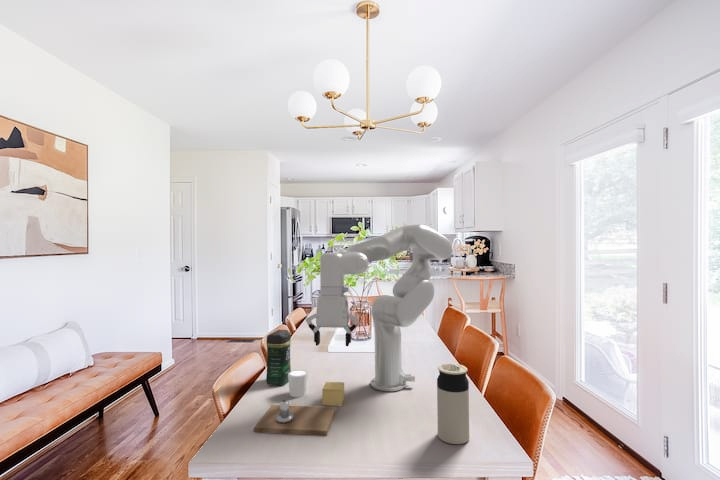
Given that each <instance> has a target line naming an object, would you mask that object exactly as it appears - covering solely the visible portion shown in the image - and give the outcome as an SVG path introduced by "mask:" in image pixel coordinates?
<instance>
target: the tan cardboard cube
mask: <svg viewBox="0 0 720 480" xmlns="http://www.w3.org/2000/svg"><path fill="white" fill-rule="evenodd" d="M321 389H322V392H321V393H322V397H321V398H322V399H321V400H322V401H321V402H322V404H321V405H322V406H335V407H336V406H341V407H342V405H343V403H344V400H345V382H341V381H339V382H338V381H326V382H325V384H323V387H322V388H321Z"/></svg>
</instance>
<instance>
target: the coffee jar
mask: <svg viewBox="0 0 720 480" xmlns="http://www.w3.org/2000/svg"><path fill="white" fill-rule="evenodd" d="M291 340H292V339H291V332H290V331H289V330H288V329H277V330H274V331H273V332H271V333H270V334H268V335H267V336H266V381H265V382H266V384H267V385H270V386H273V387H277V386H283V385H286V384H287V383H289V380H288V373H289V372H291V371H292V369H291V367H292V366H291V344H292V343H291Z"/></svg>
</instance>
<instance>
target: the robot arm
mask: <svg viewBox="0 0 720 480" xmlns="http://www.w3.org/2000/svg"><path fill="white" fill-rule="evenodd" d="M409 249H411V250H412V251H411V253H412V263H411V265H410V267H409V268H408V269H407V270H406V271H405V273H403V274H402V276H400V277H399V279H398V280H396V282H395V283H394V285H393V288H392V295H393V296H392V295H385V294H384V295H380V296H377V297H376V298H375V299H374V301H373V302H372V305H371V317H372V323H373V329H374V332H373V333H374V377H373V378H372V379H371V380H370V386H371V387H372V388H373V389H375V390H378V391H382V392H397V391H401V390H404V389H405V388H406V387H407V382H412V383H413V382H416V377H415V375H412V373H407V374H406V373H404V370H403V368H402V366H403V363H402V358H403V355H402V352H403V351H402V350H403V349H402V348H403V347H402V331H401V328H408V327H410V326H411V325H413V324H414V323H415V322H416V321H417V320H418V319H419V317H420V316H421V315H422V314H423V313H424V311H426V309H427V308H428V307H429V305H430V304H431V303H432V301H433V299H434V296H435V287H434V284H433V282H431V280H430V279H431V277H432V266H431V261H444V260H448V259H449V258H450V257H451V256H452V253H453V244H452V243H451V241H450V239H449V238H448V237H446V236H445V235H443V234H441V233H440V232H438V231H436V230H435V229H432V228H431V227H429V226H426V225H425V224H424V225H423V224H408V225H403V226H399V227H396V229H393V230H390V231H389V232H386V233H384V234H382V235H380V236H377V237H373V238H371V239H368V240H365V241H362V242H359V243H356V244H354V245H351V246H348V247H345V248H344V249H342V250H339V251H337V252H325V253H322V254H321V255H320V257H319V263H320V264H319V268H320V269H319V271H320V273H319V278H320V279H319V282H320V286H319V287H320V291H319V292H320V293H319V295H318V297H317V303H316V304H317V305H316V312H315V313H313V314H311V315H310V316H308V317H307V318H305V322H306V323H307V325H308V328H309V329H310V330H311V331H312V333H313V340H314V341H313V342H314V343H315V346H319V345H320V343H321V331H320V328H336V329H337V328H338V329H339V328H343V329H344V331H346V332H345V346H346V347H349V345H350V344H351V343H352V332H353V331H354V330H356V328H357V326H358V324H359V322H360V318H359V317H357V316H355V315H353V314H351V313H349V303H348V297H347V295H346V294H345V293H349V287H346V286H345V285H344V284H345V283H344V282H345V280H344V278H345V275H352V276H353V275H354V276H355V275H356V276H357V275H361V274H364V273H365V272H366V271H367V269H368V267H369V263H371V262H380V261H384V260H385V261H386V260H388V259H390V258H393V257H395V256H396V255H399V254H401V253H402V252H405V251H406V250H409ZM314 319H315V323H316V325H315V324H314V323H313V322H312V320H314ZM350 320H351V321H353V324H351V326H350V324H349V322H350ZM400 327H401V328H400Z"/></svg>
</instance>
